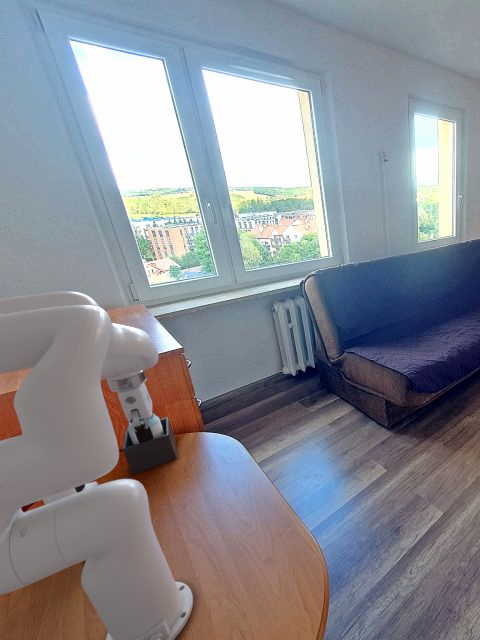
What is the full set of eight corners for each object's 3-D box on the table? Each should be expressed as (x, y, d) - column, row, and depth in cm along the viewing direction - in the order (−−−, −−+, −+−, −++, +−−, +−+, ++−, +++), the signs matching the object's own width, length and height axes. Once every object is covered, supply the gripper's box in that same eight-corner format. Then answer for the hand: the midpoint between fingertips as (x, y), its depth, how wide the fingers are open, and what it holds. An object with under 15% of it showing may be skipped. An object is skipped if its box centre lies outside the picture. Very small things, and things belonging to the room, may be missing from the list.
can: (158, 441, 102) (146, 409, 98) (174, 447, 100) (163, 413, 96) (133, 457, 96) (119, 423, 92) (149, 463, 94) (136, 429, 89)
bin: (176, 458, 98) (168, 434, 94) (132, 474, 92) (122, 449, 89) (175, 439, 105) (168, 416, 102) (134, 453, 99) (125, 429, 96)
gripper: (143, 389, 85) (163, 444, 91) (146, 363, 98) (163, 413, 104) (104, 399, 80) (127, 457, 87) (112, 370, 93) (132, 422, 100)
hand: (146, 432), depth 95 cm, fingers closed on can, 7 cm apart
